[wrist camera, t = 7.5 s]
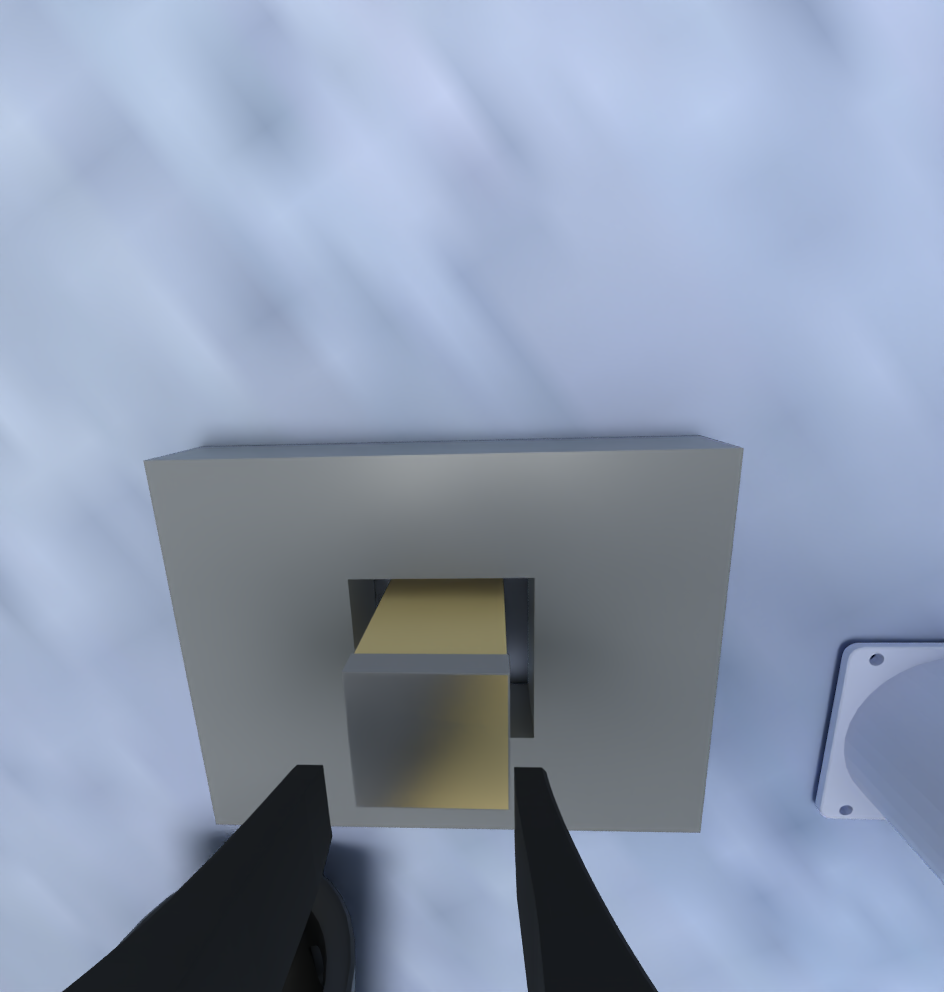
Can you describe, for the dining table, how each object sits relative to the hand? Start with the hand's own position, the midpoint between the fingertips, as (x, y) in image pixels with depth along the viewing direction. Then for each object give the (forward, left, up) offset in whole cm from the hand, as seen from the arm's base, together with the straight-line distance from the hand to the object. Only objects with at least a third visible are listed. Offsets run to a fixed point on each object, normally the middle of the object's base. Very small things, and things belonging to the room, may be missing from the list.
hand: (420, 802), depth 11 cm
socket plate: (0, 0, -8) cm, 8 cm away
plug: (0, 0, -8) cm, 8 cm away
